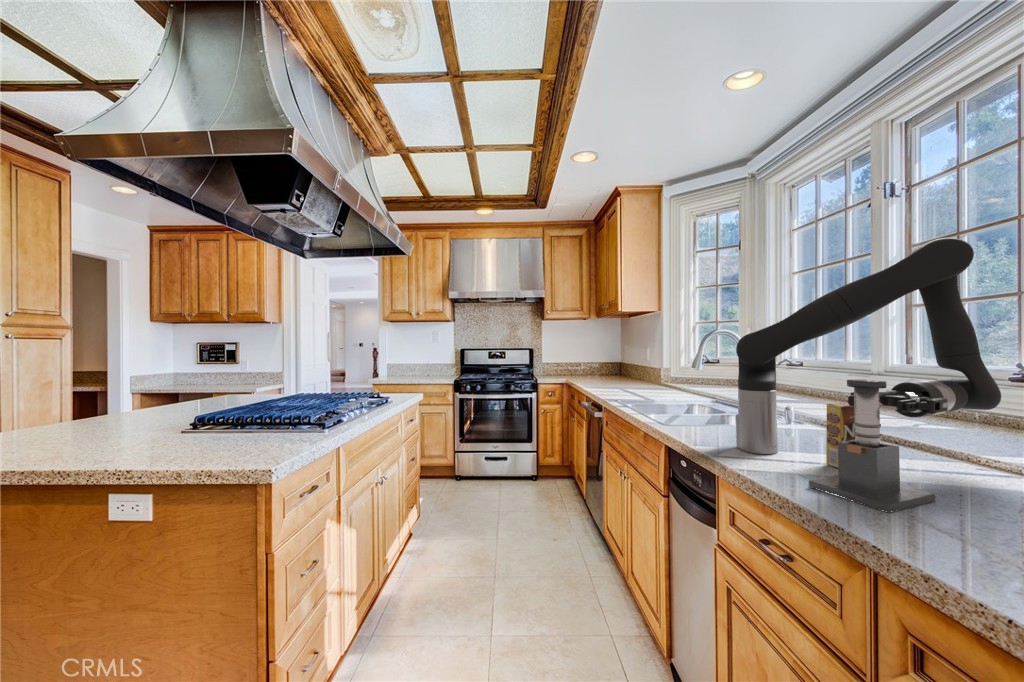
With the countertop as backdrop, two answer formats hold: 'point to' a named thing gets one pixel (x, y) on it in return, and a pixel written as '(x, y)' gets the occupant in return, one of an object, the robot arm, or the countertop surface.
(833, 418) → the candy box
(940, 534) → the countertop surface
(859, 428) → the steel column
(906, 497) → the stand base
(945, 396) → the robot arm
